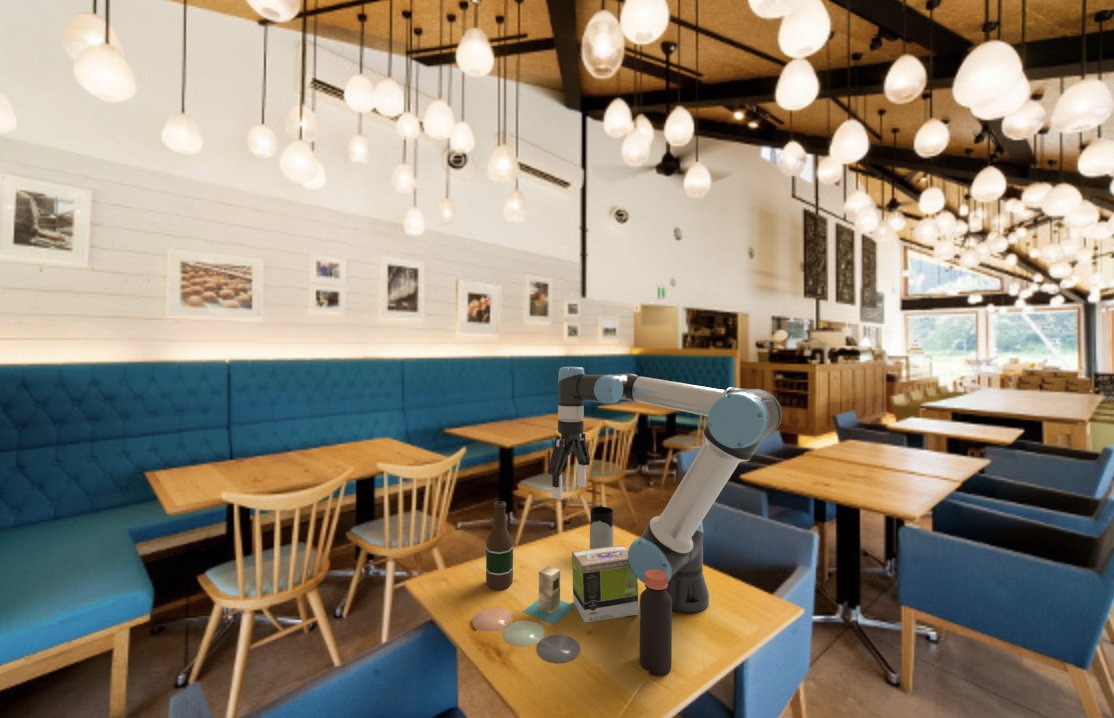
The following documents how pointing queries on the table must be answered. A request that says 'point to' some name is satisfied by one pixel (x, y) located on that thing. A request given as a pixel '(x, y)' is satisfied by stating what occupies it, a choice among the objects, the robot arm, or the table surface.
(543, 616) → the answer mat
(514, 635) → the saucer middle
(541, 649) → the grey flat round disc
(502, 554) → the beer bottle
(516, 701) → the table surface
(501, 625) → the pink round disc
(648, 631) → the vinegar
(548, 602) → the letter block
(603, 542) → the black and grey mug
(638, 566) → the robot arm
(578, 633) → the table surface
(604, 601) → the coffee pod box
